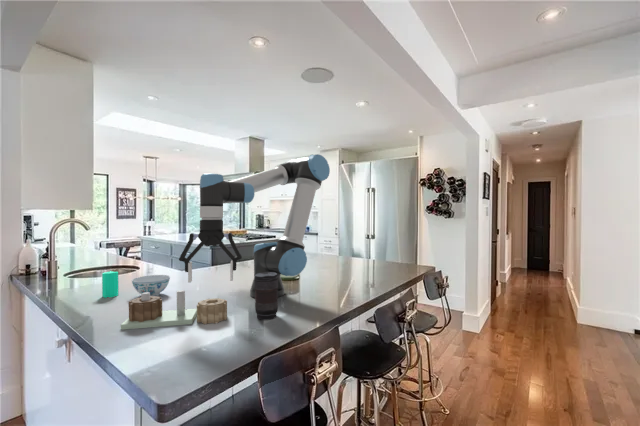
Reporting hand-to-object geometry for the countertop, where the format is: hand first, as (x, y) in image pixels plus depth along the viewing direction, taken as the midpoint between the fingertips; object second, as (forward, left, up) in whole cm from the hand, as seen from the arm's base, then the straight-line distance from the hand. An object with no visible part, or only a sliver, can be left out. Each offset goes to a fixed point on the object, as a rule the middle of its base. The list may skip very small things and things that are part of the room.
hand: (211, 281), depth 108 cm
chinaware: (+30, -40, -13) cm, 51 cm away
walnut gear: (+21, -3, -12) cm, 24 cm away
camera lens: (-19, +2, -13) cm, 23 cm away
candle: (+47, -44, -13) cm, 66 cm away
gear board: (+16, -3, -13) cm, 21 cm away
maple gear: (0, 0, -13) cm, 13 cm away
